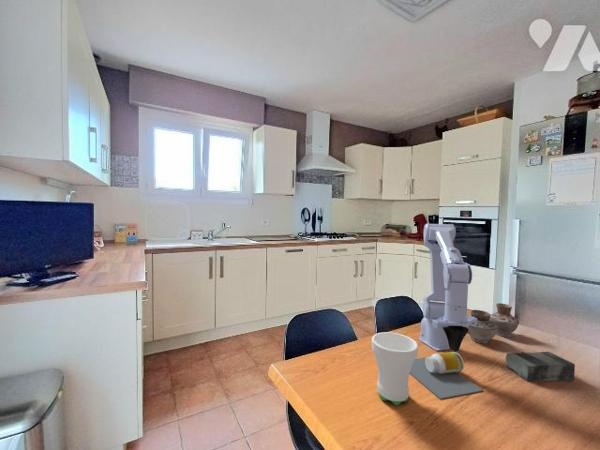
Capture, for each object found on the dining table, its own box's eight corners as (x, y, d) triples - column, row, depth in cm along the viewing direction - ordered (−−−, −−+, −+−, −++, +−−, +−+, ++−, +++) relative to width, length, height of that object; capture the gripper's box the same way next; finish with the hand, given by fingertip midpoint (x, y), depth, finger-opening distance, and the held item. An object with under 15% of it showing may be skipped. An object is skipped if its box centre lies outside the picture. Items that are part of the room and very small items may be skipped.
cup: (411, 418, 62) (413, 356, 62) (363, 400, 68) (365, 343, 68) (419, 392, 72) (421, 338, 71) (377, 378, 78) (378, 328, 77)
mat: (396, 362, 86) (396, 361, 86) (433, 357, 90) (433, 356, 90) (439, 399, 69) (439, 398, 69) (483, 391, 73) (483, 390, 73)
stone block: (502, 365, 87) (502, 349, 87) (545, 365, 87) (546, 349, 87) (527, 382, 78) (527, 364, 78) (574, 382, 79) (575, 364, 78)
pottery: (525, 338, 107) (527, 308, 107) (485, 349, 97) (486, 316, 96) (494, 327, 117) (496, 299, 117) (455, 336, 107) (456, 306, 107)
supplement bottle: (454, 347, 83) (426, 350, 81) (467, 363, 79) (438, 366, 76) (448, 359, 86) (421, 362, 83) (460, 375, 81) (431, 379, 79)
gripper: (446, 310, 75) (444, 359, 75) (487, 307, 79) (485, 353, 79) (427, 302, 82) (426, 347, 82) (466, 299, 86) (464, 342, 86)
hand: (453, 349), depth 81 cm, fingers closed
